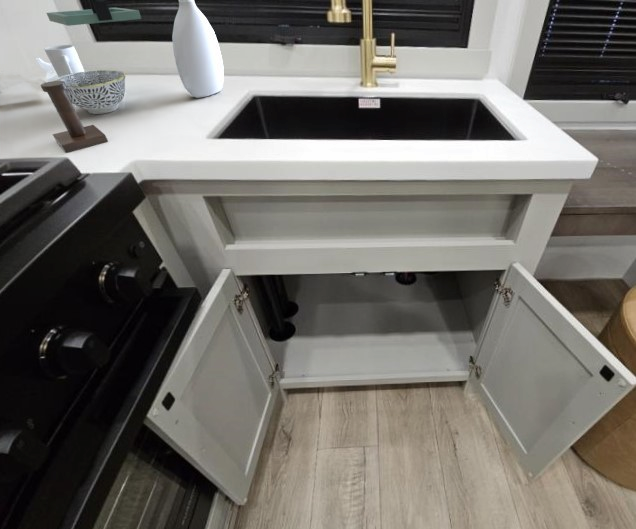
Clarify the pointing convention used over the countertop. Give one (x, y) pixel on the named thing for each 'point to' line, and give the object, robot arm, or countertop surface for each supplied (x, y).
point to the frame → (91, 16)
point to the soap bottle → (196, 51)
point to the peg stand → (71, 120)
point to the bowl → (95, 89)
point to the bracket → (48, 70)
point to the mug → (64, 59)
